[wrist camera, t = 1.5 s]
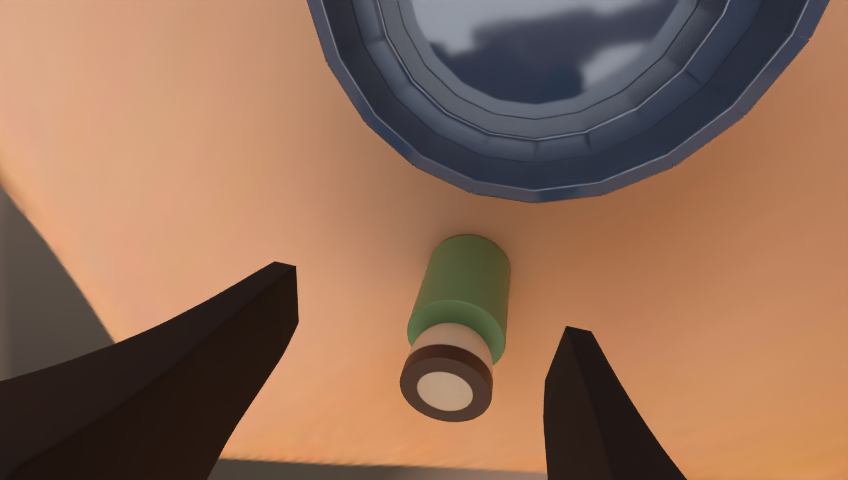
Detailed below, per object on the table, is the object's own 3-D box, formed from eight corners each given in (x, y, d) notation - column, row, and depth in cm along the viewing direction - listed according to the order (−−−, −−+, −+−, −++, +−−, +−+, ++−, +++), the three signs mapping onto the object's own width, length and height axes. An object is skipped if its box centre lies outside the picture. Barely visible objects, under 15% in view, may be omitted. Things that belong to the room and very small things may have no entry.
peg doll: (527, 272, 22) (526, 409, 15) (470, 313, 24) (447, 450, 17) (467, 219, 21) (437, 339, 14) (413, 266, 23) (365, 391, 16)
